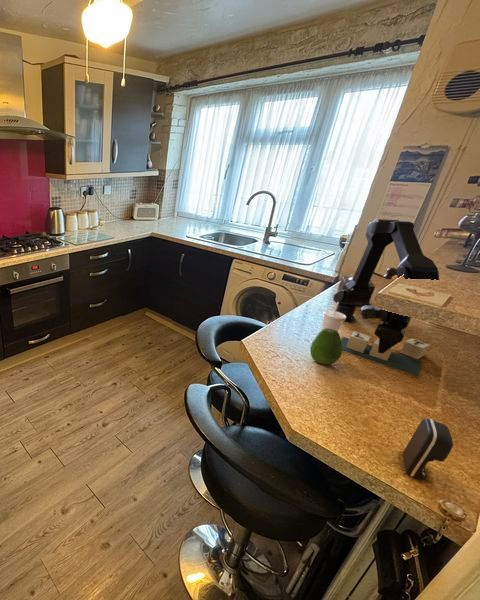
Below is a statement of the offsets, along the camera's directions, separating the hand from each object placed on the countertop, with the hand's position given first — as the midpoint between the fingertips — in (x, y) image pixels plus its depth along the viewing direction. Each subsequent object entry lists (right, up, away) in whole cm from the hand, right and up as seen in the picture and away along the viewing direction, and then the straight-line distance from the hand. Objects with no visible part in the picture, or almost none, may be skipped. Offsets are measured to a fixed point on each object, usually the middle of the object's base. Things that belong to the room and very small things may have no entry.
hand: (382, 347), depth 103 cm
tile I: (0, -3, +1) cm, 3 cm away
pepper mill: (+26, +14, +39) cm, 49 cm away
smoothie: (-9, +1, +12) cm, 15 cm away
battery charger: (-27, -20, -35) cm, 49 cm away
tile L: (-4, -1, +5) cm, 7 cm away
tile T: (+11, -3, +2) cm, 12 cm away
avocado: (-21, -5, -1) cm, 22 cm away
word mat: (0, -3, +2) cm, 4 cm away
